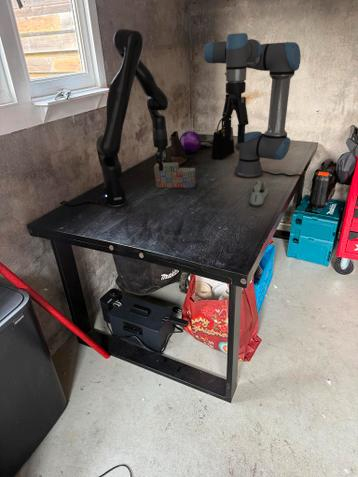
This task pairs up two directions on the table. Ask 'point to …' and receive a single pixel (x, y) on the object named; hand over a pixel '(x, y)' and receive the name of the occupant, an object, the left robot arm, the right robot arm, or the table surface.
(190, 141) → the decorative orb
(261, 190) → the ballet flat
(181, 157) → the boot
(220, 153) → the handbag
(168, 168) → the stack of blocks
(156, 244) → the table surface
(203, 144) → the pair of gloves
